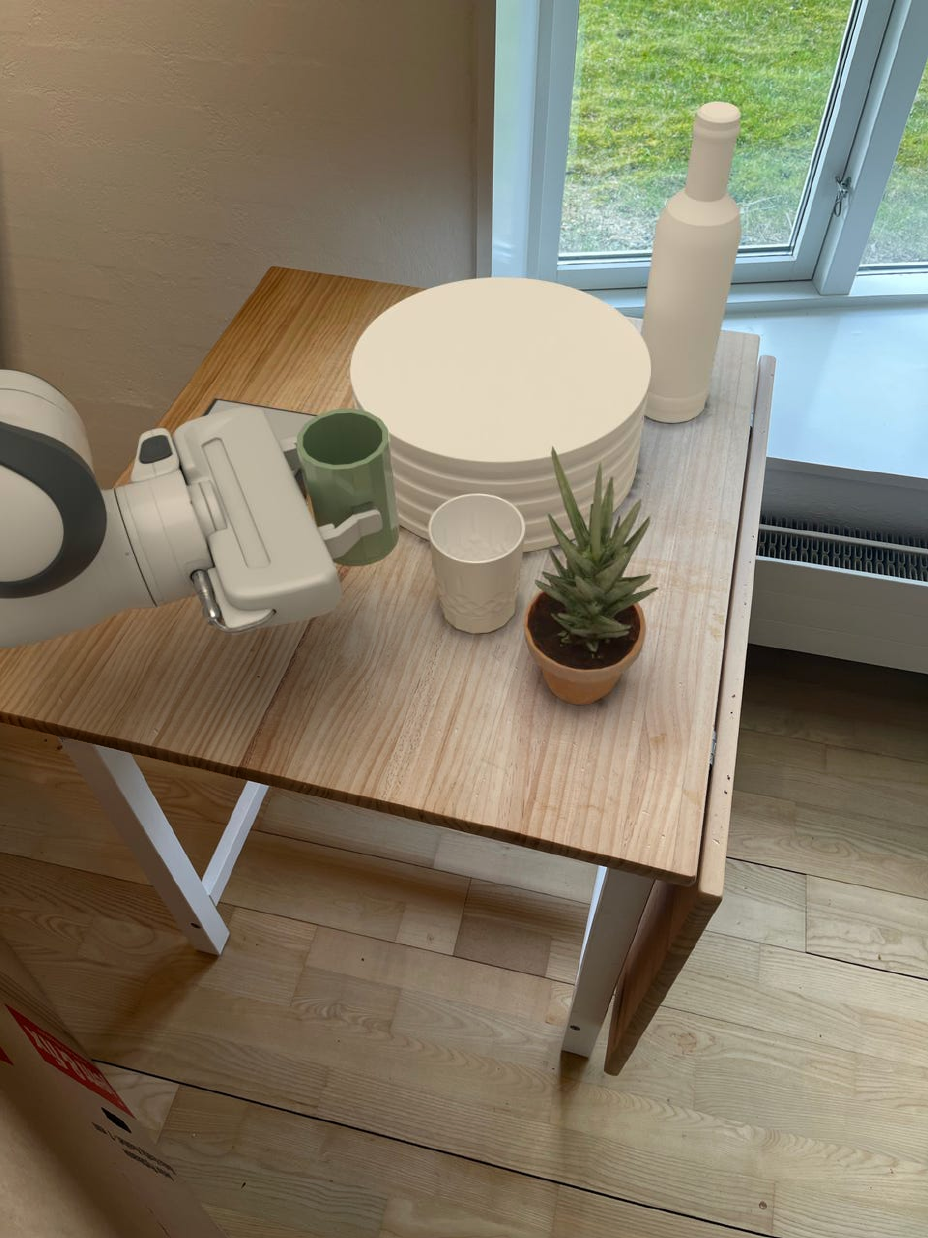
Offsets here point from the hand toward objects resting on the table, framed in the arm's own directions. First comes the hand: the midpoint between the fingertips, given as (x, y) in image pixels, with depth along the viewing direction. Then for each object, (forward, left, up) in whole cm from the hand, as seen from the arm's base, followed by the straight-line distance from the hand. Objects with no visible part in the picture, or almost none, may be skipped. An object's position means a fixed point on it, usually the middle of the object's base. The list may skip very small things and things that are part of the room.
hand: (360, 480), depth 71 cm
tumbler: (-1, 0, -6) cm, 6 cm away
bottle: (+39, +14, -17) cm, 45 cm away
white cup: (+8, -2, -17) cm, 19 cm away
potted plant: (+12, -13, -17) cm, 25 cm away
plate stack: (+19, +15, -17) cm, 30 cm away
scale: (-4, +25, -17) cm, 30 cm away
